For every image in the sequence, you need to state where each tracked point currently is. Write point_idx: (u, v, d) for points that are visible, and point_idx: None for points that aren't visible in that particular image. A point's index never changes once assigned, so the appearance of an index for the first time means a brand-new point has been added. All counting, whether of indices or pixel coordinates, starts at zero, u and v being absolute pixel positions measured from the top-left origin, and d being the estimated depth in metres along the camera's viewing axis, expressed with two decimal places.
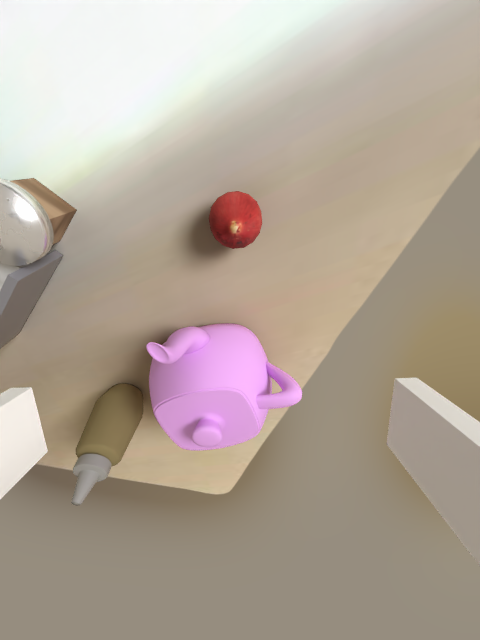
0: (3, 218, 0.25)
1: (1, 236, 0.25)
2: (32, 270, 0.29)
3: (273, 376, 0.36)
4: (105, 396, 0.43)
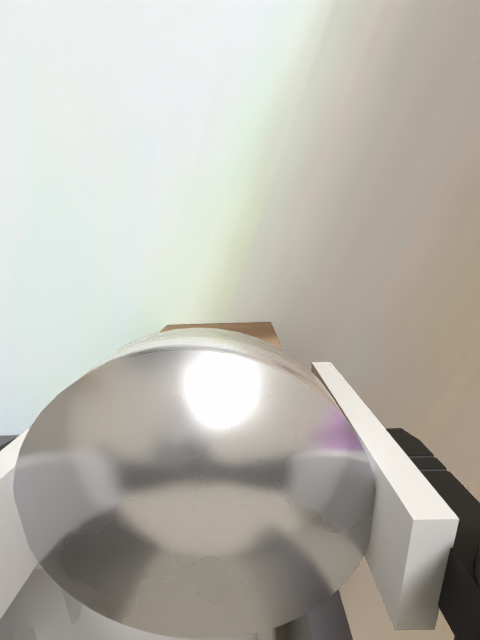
0: (196, 485, 0.06)
1: (219, 549, 0.06)
2: None
3: None
4: None
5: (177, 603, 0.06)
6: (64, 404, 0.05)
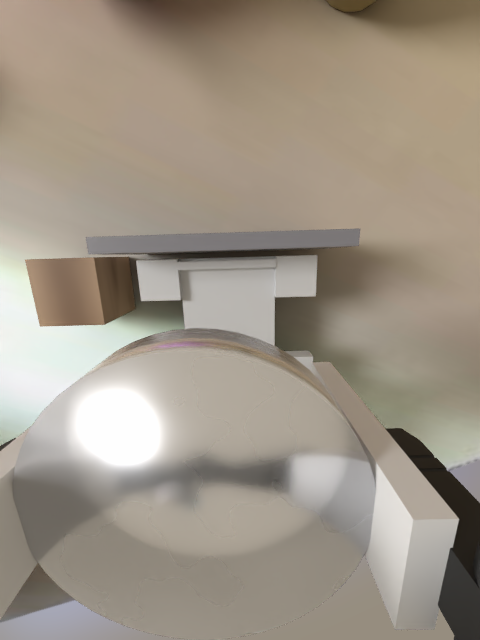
0: (197, 485, 0.06)
1: (219, 550, 0.06)
2: None
3: None
4: None
5: (176, 603, 0.06)
6: (64, 405, 0.05)
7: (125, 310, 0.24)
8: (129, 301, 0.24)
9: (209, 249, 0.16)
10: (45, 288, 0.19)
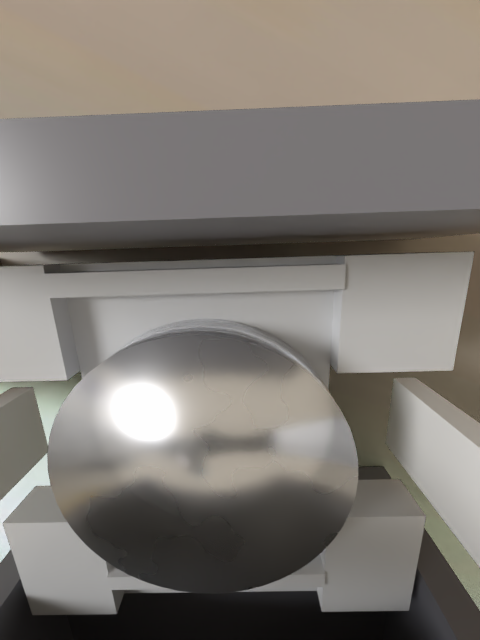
0: (203, 452, 0.07)
1: (223, 510, 0.07)
2: None
3: None
4: None
5: (187, 559, 0.07)
6: (92, 382, 0.06)
7: None
8: None
9: (56, 218, 0.03)
10: None
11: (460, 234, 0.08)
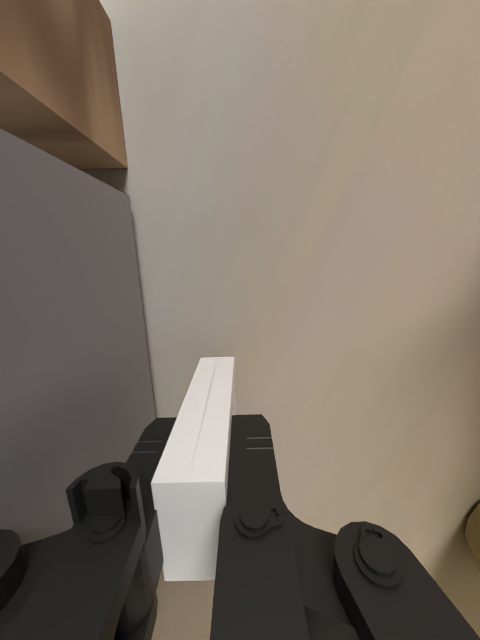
0: None
1: None
2: (2, 135, 0.05)
3: None
4: None
5: None
6: None
7: None
8: None
9: None
10: None
11: None
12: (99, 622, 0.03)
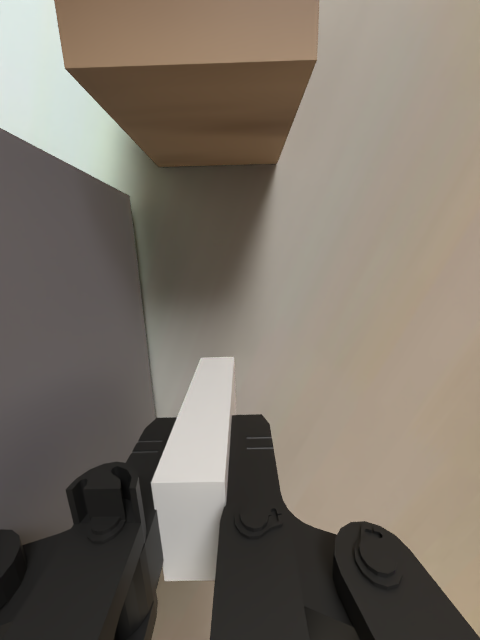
0: None
1: None
2: (3, 135, 0.05)
3: None
4: None
5: None
6: None
7: (147, 145, 0.09)
8: (173, 156, 0.10)
9: None
10: None
11: None
12: (99, 622, 0.03)
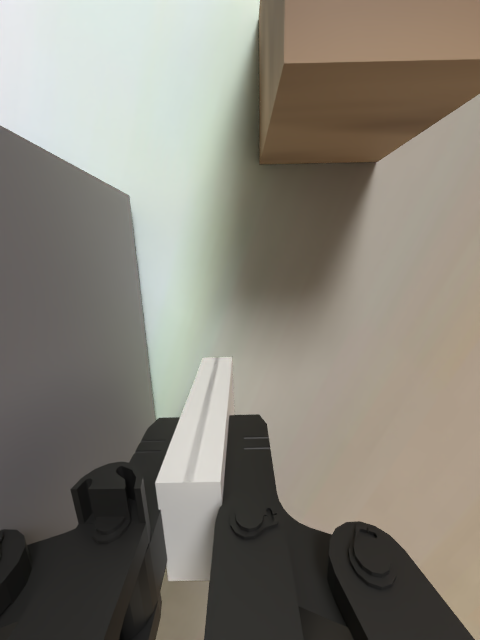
0: None
1: None
2: (6, 134, 0.05)
3: None
4: None
5: None
6: None
7: (273, 142, 0.09)
8: (286, 153, 0.10)
9: None
10: None
11: None
12: (104, 622, 0.03)
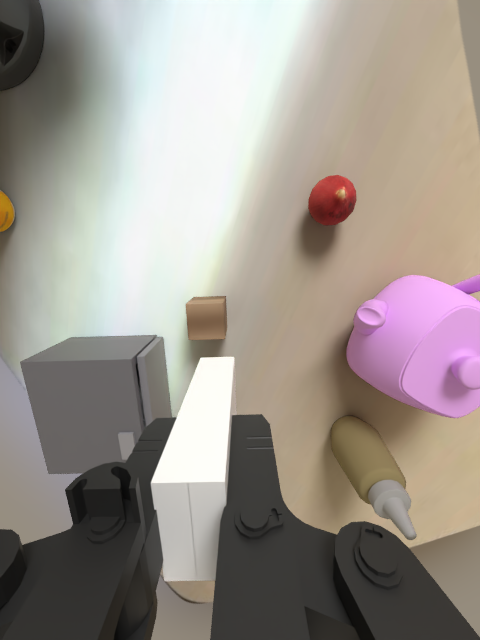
0: None
1: None
2: (149, 349, 0.36)
3: (474, 287, 0.32)
4: (335, 435, 0.42)
5: None
6: None
7: None
8: None
9: (144, 407, 0.36)
10: (207, 311, 0.35)
11: None
12: (99, 622, 0.03)
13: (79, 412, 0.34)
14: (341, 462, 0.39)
